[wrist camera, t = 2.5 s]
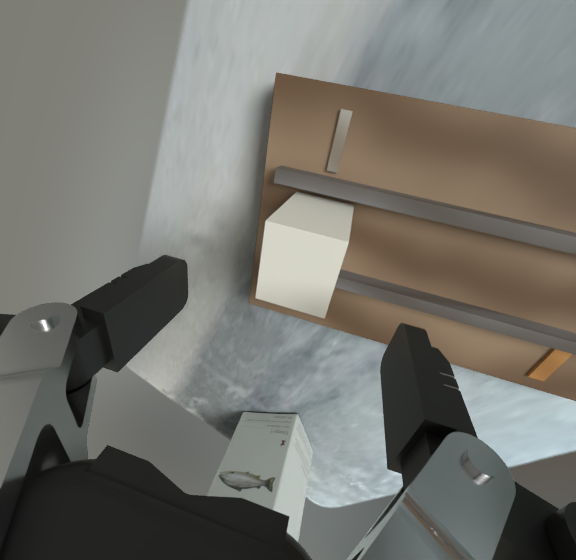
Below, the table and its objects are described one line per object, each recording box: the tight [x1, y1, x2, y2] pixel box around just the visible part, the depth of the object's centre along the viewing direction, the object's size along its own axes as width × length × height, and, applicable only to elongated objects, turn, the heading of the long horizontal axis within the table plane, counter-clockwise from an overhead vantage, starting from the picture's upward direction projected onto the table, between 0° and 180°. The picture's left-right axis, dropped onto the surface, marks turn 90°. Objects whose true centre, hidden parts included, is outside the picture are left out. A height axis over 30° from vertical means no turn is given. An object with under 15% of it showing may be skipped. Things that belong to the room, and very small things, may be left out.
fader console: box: [249, 73, 576, 401], centre depth 16 cm, size 15×26×3 cm, turn 80°
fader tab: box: [255, 192, 354, 319], centre depth 14 cm, size 4×4×6 cm
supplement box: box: [207, 412, 313, 542], centre depth 28 cm, size 7×7×13 cm
